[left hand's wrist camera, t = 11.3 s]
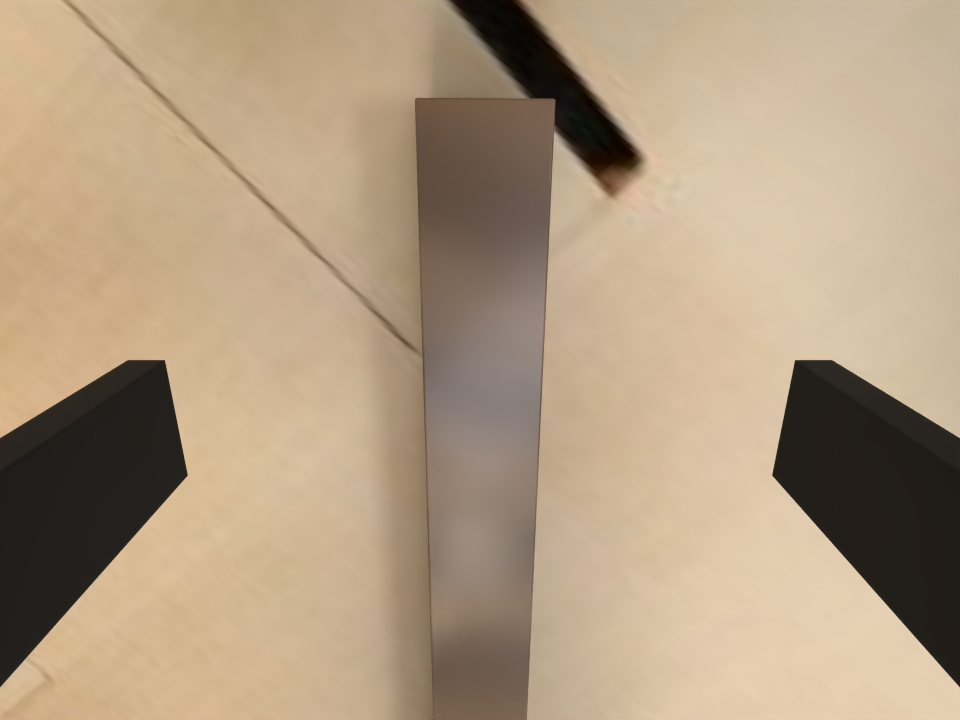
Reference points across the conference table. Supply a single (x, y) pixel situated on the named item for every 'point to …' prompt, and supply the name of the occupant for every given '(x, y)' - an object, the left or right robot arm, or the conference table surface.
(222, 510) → the conference table surface
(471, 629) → the bar
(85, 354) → the conference table surface
